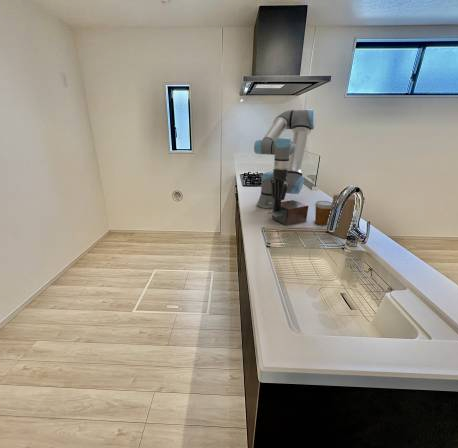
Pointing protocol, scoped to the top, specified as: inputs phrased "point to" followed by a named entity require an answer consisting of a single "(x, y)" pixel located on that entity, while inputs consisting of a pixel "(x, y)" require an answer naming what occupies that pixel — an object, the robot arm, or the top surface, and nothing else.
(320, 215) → the amber jar
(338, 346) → the top surface
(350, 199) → the wooden block
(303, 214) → the cabinet
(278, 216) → the drawer
